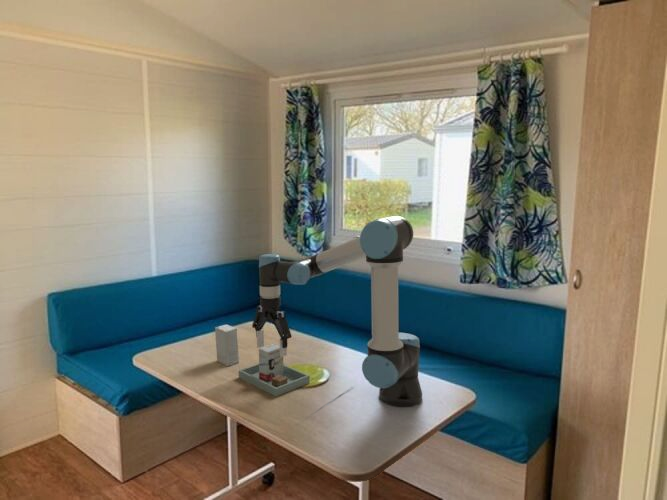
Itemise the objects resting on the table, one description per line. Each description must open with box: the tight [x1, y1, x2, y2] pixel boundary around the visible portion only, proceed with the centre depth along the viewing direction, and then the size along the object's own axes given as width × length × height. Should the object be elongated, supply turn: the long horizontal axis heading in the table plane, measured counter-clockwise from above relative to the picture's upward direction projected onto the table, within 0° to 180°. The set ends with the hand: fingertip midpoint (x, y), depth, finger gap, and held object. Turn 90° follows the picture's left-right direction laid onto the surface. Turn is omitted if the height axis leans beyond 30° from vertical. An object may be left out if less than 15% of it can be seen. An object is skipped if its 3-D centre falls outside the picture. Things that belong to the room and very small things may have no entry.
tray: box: [238, 363, 311, 397], centre depth 187 cm, size 22×16×4 cm
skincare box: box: [214, 323, 240, 367], centre depth 205 cm, size 8×6×15 cm
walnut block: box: [272, 375, 288, 387], centre depth 180 cm, size 4×4×4 cm
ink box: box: [258, 343, 284, 382], centre depth 189 cm, size 9×5×12 cm, turn 140°
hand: (271, 351), depth 188 cm, fingers open, 13 cm apart
